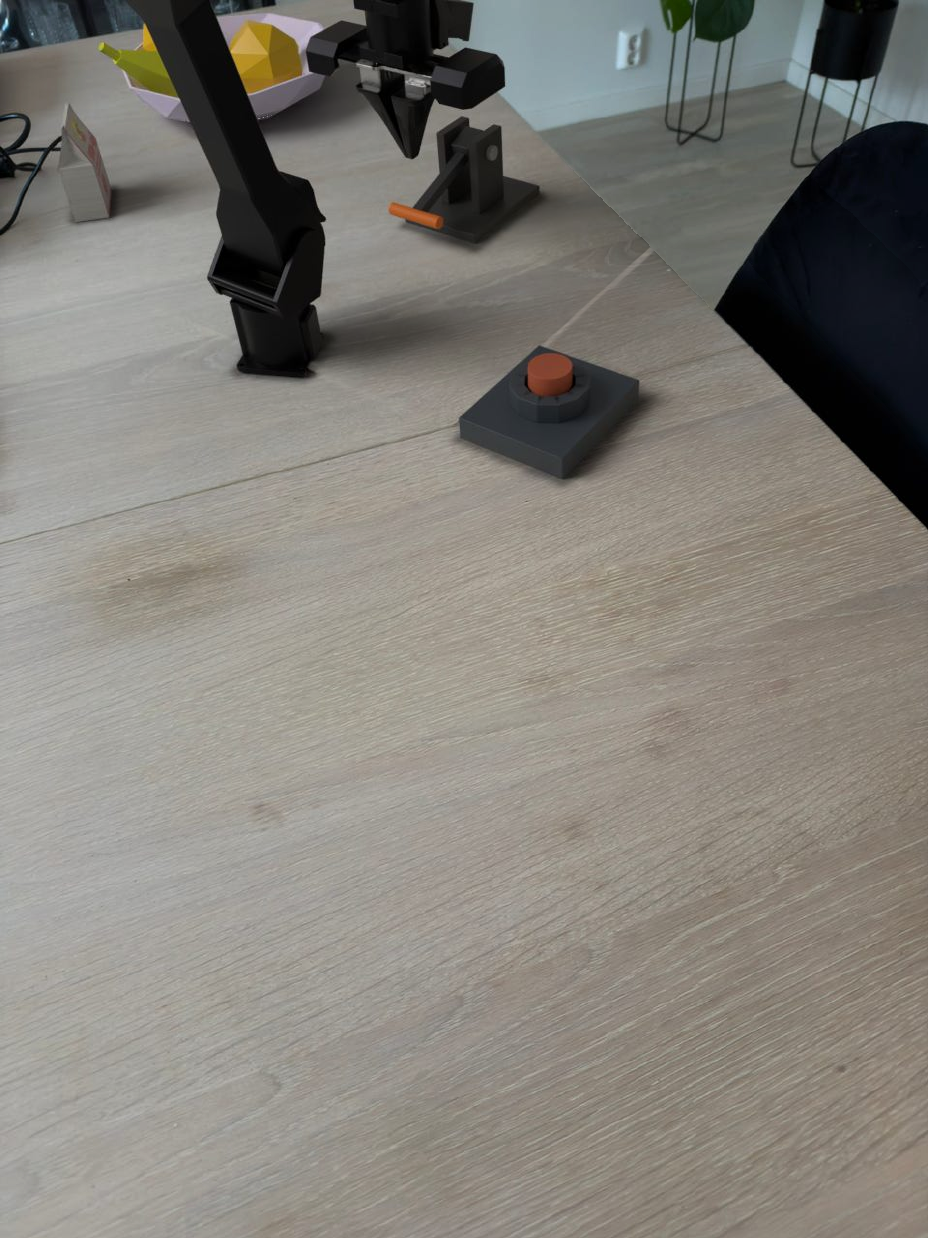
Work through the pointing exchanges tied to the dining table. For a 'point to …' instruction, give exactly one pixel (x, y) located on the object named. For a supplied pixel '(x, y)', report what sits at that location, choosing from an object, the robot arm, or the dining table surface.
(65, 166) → the small milk carton
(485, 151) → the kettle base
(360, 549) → the dining table surface
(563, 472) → the socket block
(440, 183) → the switch lever
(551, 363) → the button
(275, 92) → the fruit bowl
